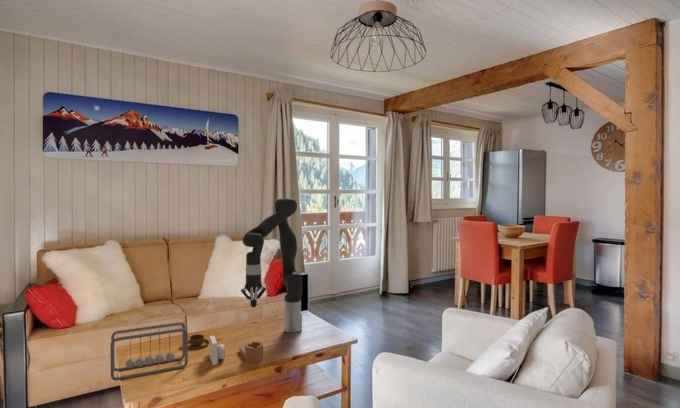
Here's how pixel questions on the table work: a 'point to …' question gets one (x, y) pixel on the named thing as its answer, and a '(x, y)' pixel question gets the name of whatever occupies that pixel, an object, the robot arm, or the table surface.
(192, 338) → the place setting
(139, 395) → the table surface
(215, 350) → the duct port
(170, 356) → the newton's cradle
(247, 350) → the bracket
